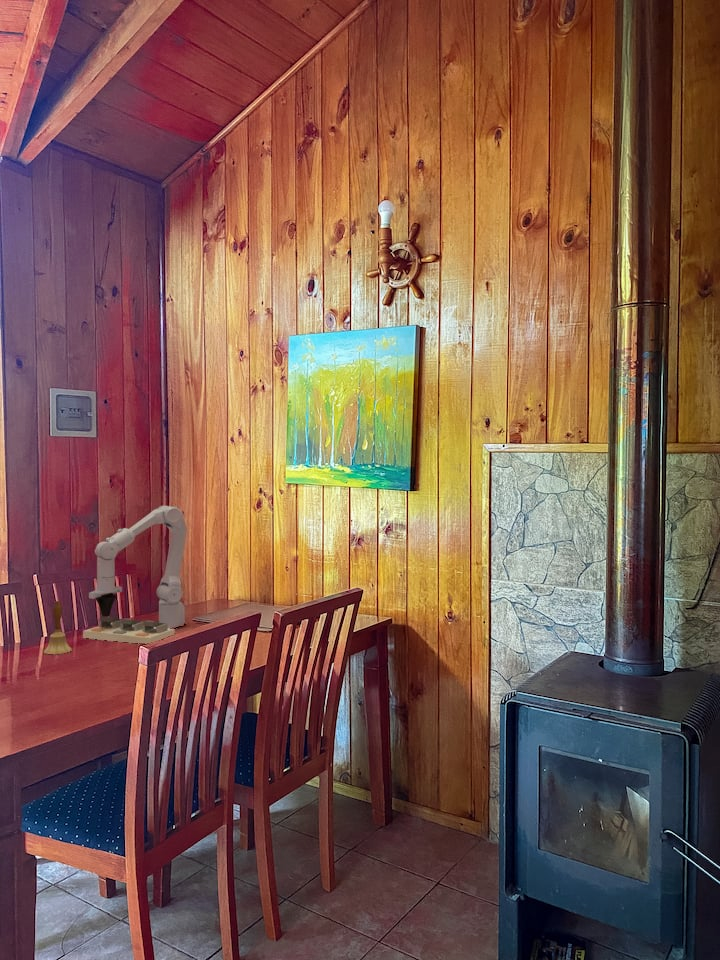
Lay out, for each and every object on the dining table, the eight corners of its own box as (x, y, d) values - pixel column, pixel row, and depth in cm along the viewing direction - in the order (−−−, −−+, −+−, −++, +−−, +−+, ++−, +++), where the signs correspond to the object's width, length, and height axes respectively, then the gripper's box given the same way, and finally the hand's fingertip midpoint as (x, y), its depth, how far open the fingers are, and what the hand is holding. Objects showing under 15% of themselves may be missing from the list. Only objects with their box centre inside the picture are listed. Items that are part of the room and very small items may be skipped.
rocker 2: (156, 627, 251) (157, 622, 251) (166, 628, 249) (167, 623, 250) (142, 625, 244) (143, 620, 244) (152, 626, 242) (153, 621, 243)
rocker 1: (113, 623, 257) (114, 618, 257) (123, 624, 256) (124, 618, 256) (98, 621, 250) (99, 615, 250) (108, 622, 248) (109, 616, 249)
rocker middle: (134, 625, 254) (135, 620, 254) (144, 626, 253) (145, 621, 253) (120, 623, 247) (121, 618, 247) (130, 624, 245) (131, 619, 246)
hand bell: (65, 655, 224) (65, 603, 224) (38, 654, 224) (38, 603, 224) (76, 648, 233) (76, 598, 232) (50, 648, 233) (50, 598, 232)
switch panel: (110, 629, 259) (110, 616, 259) (174, 636, 250) (174, 622, 250) (83, 638, 246) (83, 624, 246) (149, 645, 237) (149, 631, 237)
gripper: (110, 573, 258) (110, 611, 258) (81, 579, 244) (81, 619, 245) (126, 574, 256) (126, 612, 256) (98, 580, 242) (98, 620, 242)
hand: (105, 616), depth 250 cm, fingers closed
